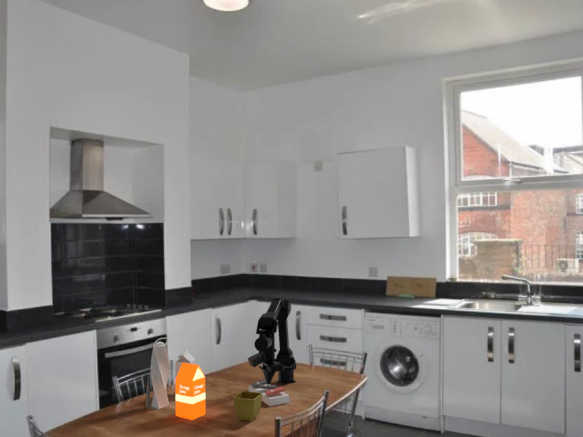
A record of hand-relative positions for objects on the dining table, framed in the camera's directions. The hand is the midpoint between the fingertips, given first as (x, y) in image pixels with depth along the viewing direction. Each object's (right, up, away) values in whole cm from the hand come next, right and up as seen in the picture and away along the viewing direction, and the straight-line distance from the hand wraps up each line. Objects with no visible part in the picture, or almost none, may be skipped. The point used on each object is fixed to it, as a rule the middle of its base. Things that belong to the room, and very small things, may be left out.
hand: (268, 384), depth 221 cm
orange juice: (-30, -8, -14) cm, 34 cm away
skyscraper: (-45, -9, -2) cm, 46 cm away
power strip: (-2, -8, +10) cm, 13 cm away
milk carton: (-37, -9, +13) cm, 40 cm away
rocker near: (-4, -4, +14) cm, 15 cm away
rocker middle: (0, -4, +8) cm, 9 cm away
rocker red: (+3, -4, +1) cm, 5 cm away
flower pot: (-7, -8, -19) cm, 21 cm away
